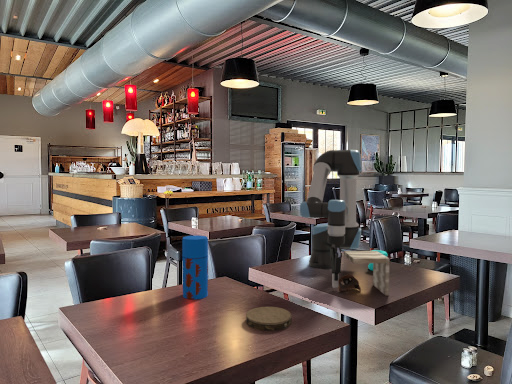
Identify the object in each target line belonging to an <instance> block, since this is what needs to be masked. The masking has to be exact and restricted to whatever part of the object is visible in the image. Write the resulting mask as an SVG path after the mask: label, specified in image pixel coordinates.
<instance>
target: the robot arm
mask: <svg viewBox="0 0 512 384" xmlns="http://www.w3.org/2000/svg"><path fill="white" fill-rule="evenodd" d="M312 171H313V174H312V177H311V178H312V179H311V182H310V186H309V190H308V194H307V197H306V201H302V202H301V203H300V205H299V213H300V216H301V217H302V218H308V219H327V223H324V224H322V223H321V224H317V225H314V226H313V227H312V233H311V234H312V235H311V237H312V239H311V241H312V243H311V244H312V245H311V247H312V248H311V255H310V257H309V260H308V266H310V267H311V268H316V269H324V270H325V269H330V270H331V275H332V276H331V279H332V280H331V287H332V288H333V289H334V288H335V289H336V288H337V289H338V287H339V279H340V274H341V270H342V269H341V268H342V259H343V258H342V257H343V252H342V249H344V250H345V249H347V250H357V249H359V248H360V242H361V238H362V227H360V224H359V223H358V222H357V179H358V177H359V176H360V173H361V172H363V162H362V156H361V153H360V151H359V150H357V149H337V150H336V149H335V150H334V149H331V150H326V151H325V152H324V153H322V154H320V155H319V156H318V157H317V158H316V160H315V161H314V164H313V167H312ZM332 172H336V174H337V177H338V178H339V199H329V201H328V202H323V201H324V196H325V191H326V186H327V181H328V176H329V175H330V174H331V173H332Z"/></svg>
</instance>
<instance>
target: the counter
mask: <svg viewBox="0 0 512 384" xmlns="http://www.w3.org/2000/svg"><path fill="white" fill-rule="evenodd" d="M343 256H344V257H345V258H346V259H348V260H349V262H351V263H353V264H370V263H373V271H372V285H373V286H374V287H375V288H376V289H377V290H378V291H379V292H381V293H382V294H383V295H384V296H390V258H389V257H388V256H387V257H386V256H384V255H383V254H381V253H379V252H378V251H372V250H344V251H343Z"/></svg>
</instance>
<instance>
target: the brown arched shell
mask: <svg viewBox="0 0 512 384" xmlns="http://www.w3.org/2000/svg"><path fill="white" fill-rule="evenodd" d="M341 282H342V283H341ZM337 289H338V291H339V293H341V292H342V291H344V292H345V291H346V292H347V291H351V290H358V291H359V292H360V293H361V292H362V289H361V286H360V283H359V280H358V279H357V278H355V276H353V275H351V274H344V275H343V276H341V277H339V287H338V288H337Z"/></svg>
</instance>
